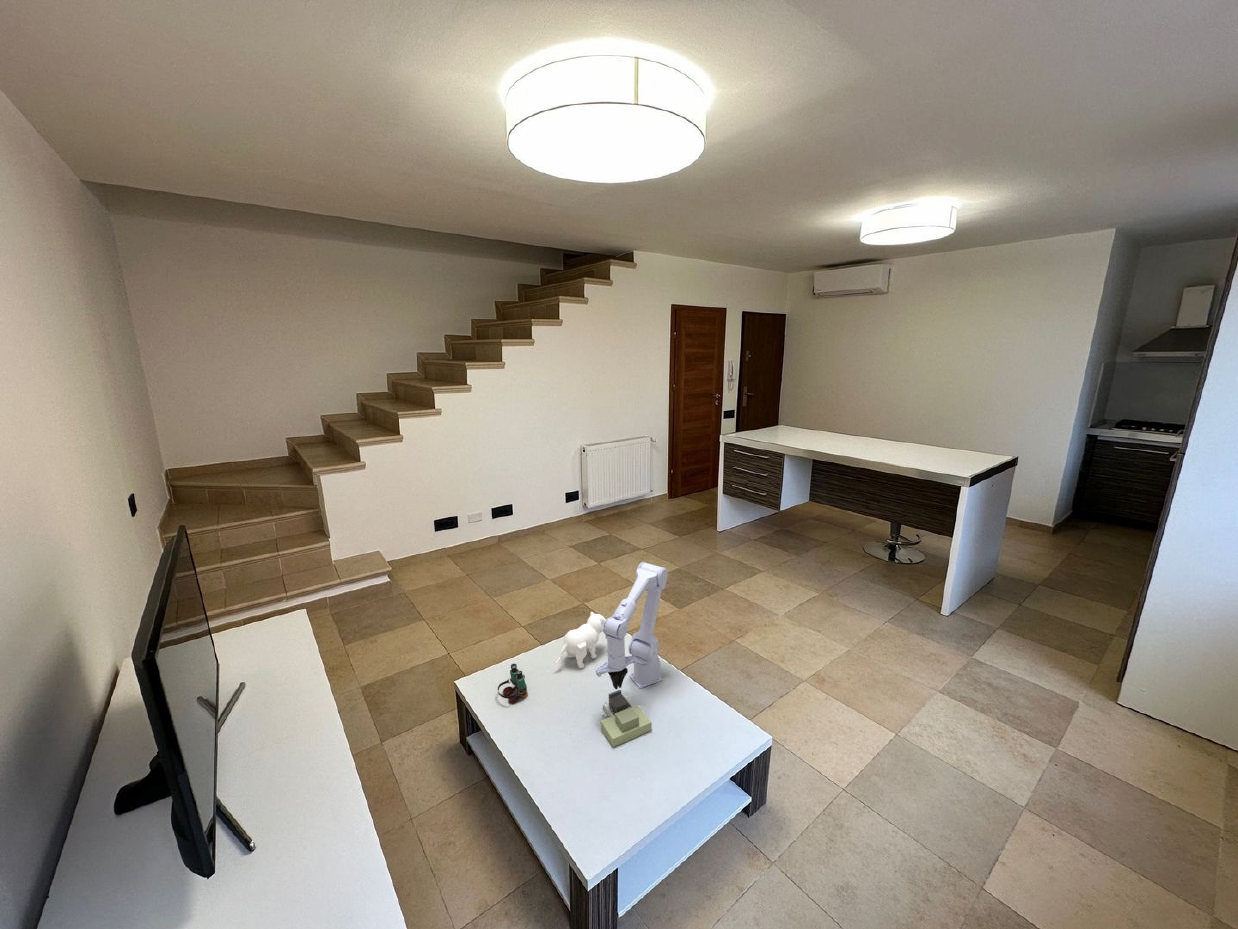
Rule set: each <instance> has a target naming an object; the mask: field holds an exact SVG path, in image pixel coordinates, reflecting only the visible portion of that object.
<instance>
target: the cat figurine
mask: <svg viewBox="0 0 1238 929" xmlns="http://www.w3.org/2000/svg"><path fill="white" fill-rule="evenodd" d="M605 621H606V618H605V617H604V616H603V615H602V614H599V613H594V612H593V611H590V613H589V617H588V618H587V622H586V623H583V624H581V626H579V627H578V628H575V629H571V630H569V631H568V632H567V633H566V634H565V635H564V639H563V640H564V641H563V647H562V648H561V650H560V652H559V657H558V659H557V660H556V661H555V664H558V663H560V662H561V660H562V659H563V655H564V653H566V657H568V658H569V659H571V658H576V663H577V667H578V668H579V669H584V668H585V663H583V660H584V659H585V657H586V656H587V654H588V653H590V658H591V659H596V658H597V656H598V655H597V654H596V645H597V644H598V642H599V639H600V634H601V633H602V632H603V628H604V623H605ZM587 650H588V653H587Z"/></svg>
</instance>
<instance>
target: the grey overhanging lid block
mask: <svg viewBox="0 0 1238 929" xmlns="http://www.w3.org/2000/svg"><path fill="white" fill-rule="evenodd" d="M608 707H609V709H610V710H611V712H612V713H613V712H614V713H613V715H615V713H618V712H620V711H623V710H625V709H628V708H630V707H629V703H628V702H627V700H626V699H625V698H624V695H623V693H622V690H621V689H617V690H615V691H612V692H610V693H608Z"/></svg>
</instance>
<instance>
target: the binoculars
mask: <svg viewBox="0 0 1238 929" xmlns="http://www.w3.org/2000/svg"><path fill="white" fill-rule="evenodd" d="M509 674H510V678H509V679H507V680H505V681H503V682H501V683H500V684H499V685H498V686H497V693H498V695H499V696H500V697H501V698H503V699H507V700H508V702H509V704H515V703H516V702H518V701H519V698H523V699H524V698H527V697H528V695H529V693H528V686H527V682H526V680H525V679H526V676H525V674H523V670H519V669H518V666H517V664H516V663H512V664H511V665H510V670H509ZM506 684H512V685H513V686H506V687H504V688H503V690H502V693H503V694H502V693H500V692H499V690H500V688H501V686H503V685H506ZM514 691H516V693H514Z"/></svg>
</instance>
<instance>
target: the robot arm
mask: <svg viewBox="0 0 1238 929" xmlns="http://www.w3.org/2000/svg"><path fill="white" fill-rule="evenodd" d="M637 566H638V567H637V568H636V571H635V578H636V579H635V581H634V584H633V585H632V587H631V589H630V592H629V594H628V595H627V597H626V598H624V599H621V602H619V604H618V605H617V608H616V609H615V611H614V612H613V614H612V616H610V617H608V618H606V619H605V623H604V628H603V634H604V635H605V636H604V637H605V638H604V639H606V643H607V647H606V648H607V661H606V662H604V663H603V664H602V665H600V666H598V667H596V668H595V675H596V676H597V677H598V678H601V677H602V675H604V674H608V675H609V677H610V680H611V682H612V687H613V688H614V689H615V690H619V689H621V688H622V686H623V682H624V680H625V678H626V676H627V674H628V668H627V667H628V666H629V665H631V664H633V673H630V674H629V678H631V679H632V681H633V682H634V684H636V686H637V687H638V688H639V689H643V688H646V687H648V686H651V685H653V684H655V683H658V682H661V681H662V680H663V679H662V675H661V669H662V668H661V660H660V657H659V643H660V641H659V639H658V638H657V637H656V635H655V634H654V631H655V626H656V620H657V616H658V612H659V611H658V610H659V606H660V600H661V596H662V591H663V590H665V589H666V586H667V581H668V577H669V576H668V575H669V573H668V569H666V567H664V566H663V567H662V566H658V565H655V564H651V563H648V562H645V561H642V562H640V563H639V564H638V565H637ZM646 590H647V593H646V597H645V601H644V606H643V612H642V616H641V621H640V626H639V631H636V632H635V633H633V634H632V636H631V639H630V642H629V644H628V653H629V655H627V656H626V651H625V650H626V646H625V645H626V644H625V636H626V635H627V633H628V630H629V627H630V622H631V620H632V617H633V616H634V614H635V613H636V611H637V603H638V602H639V600H640V599H641V598H642V596H643V595H644V593H645V592H646Z"/></svg>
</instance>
